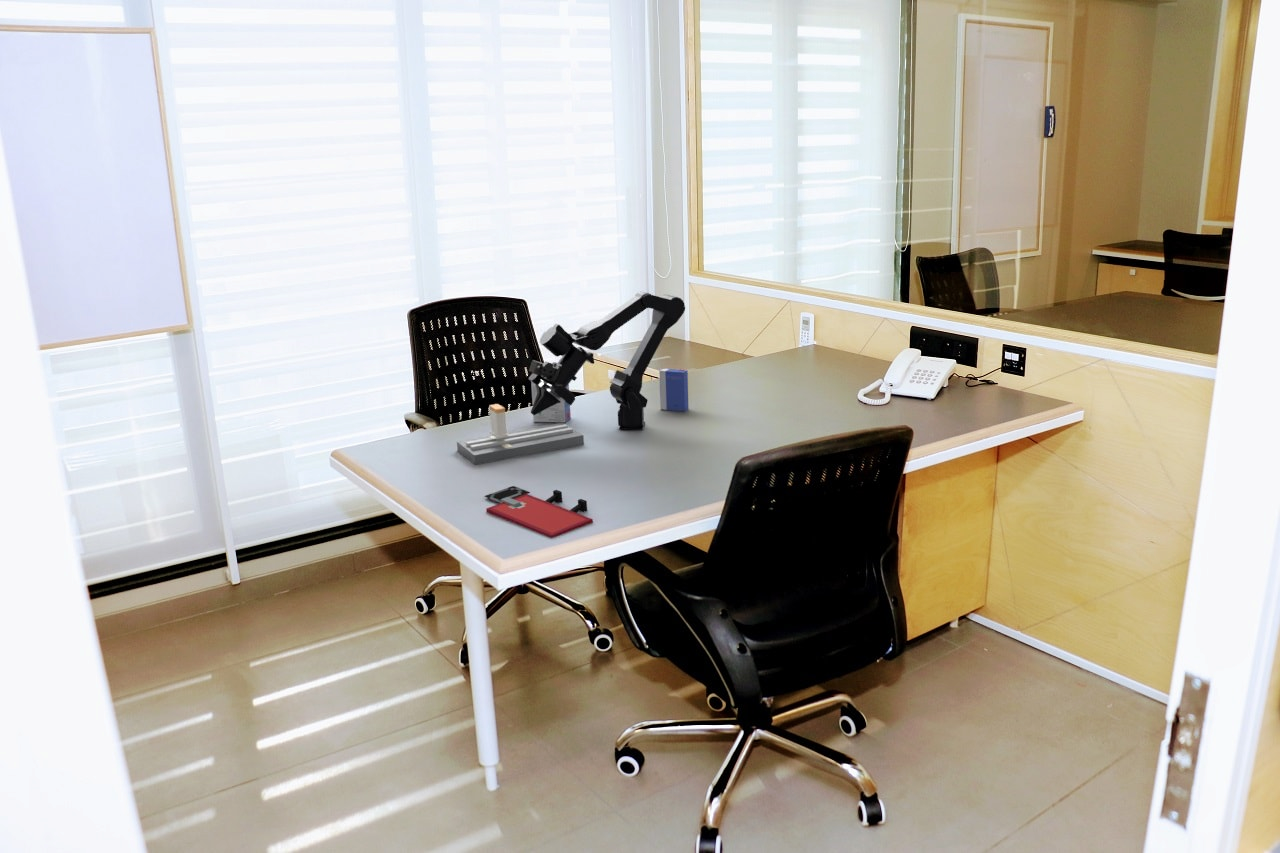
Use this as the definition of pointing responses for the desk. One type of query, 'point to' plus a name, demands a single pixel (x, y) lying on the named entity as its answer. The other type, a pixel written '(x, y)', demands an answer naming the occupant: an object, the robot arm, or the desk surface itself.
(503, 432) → the fader lever
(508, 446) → the fader console
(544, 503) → the red board with handle
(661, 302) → the robot arm
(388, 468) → the desk surface
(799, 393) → the desk surface
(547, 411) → the ink cartridge box
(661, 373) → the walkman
